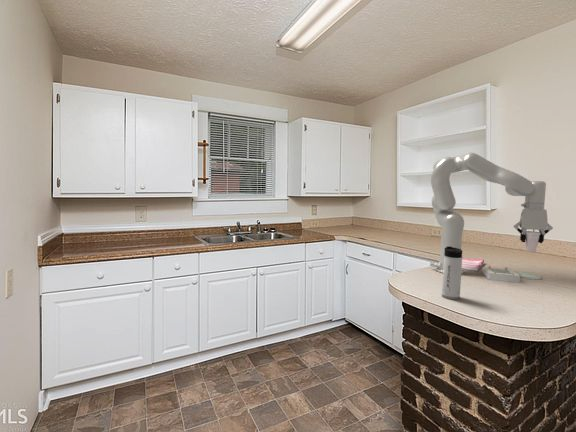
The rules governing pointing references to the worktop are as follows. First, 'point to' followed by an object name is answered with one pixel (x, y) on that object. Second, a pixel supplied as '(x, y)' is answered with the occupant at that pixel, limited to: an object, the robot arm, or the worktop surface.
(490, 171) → the robot arm
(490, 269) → the socket block
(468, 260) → the dish towel
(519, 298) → the worktop surface
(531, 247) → the smoothie
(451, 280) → the travel mug
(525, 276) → the coaster
